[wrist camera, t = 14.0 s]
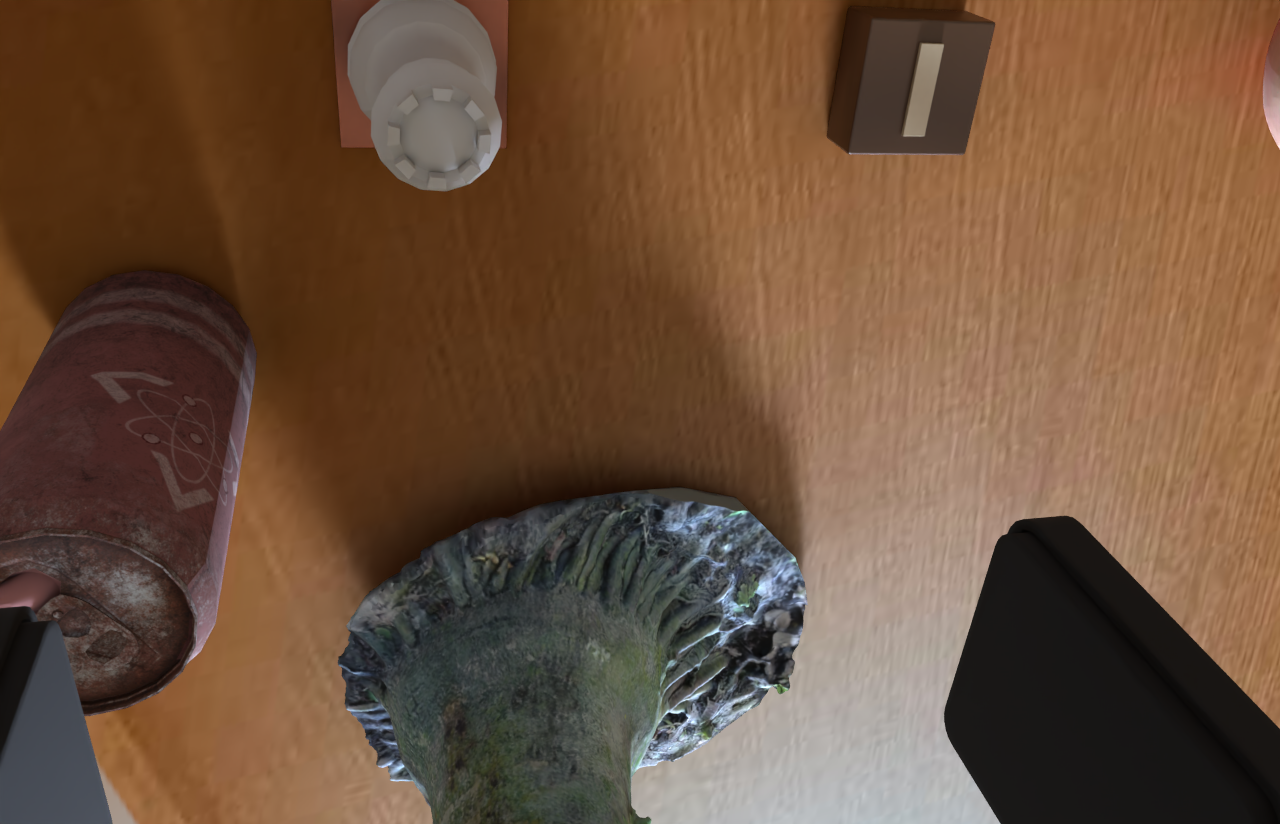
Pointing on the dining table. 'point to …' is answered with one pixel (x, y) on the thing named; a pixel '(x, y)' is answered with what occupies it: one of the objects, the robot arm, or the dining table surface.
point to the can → (127, 479)
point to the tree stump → (571, 652)
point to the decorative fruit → (1273, 85)
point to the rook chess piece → (427, 90)
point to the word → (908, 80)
